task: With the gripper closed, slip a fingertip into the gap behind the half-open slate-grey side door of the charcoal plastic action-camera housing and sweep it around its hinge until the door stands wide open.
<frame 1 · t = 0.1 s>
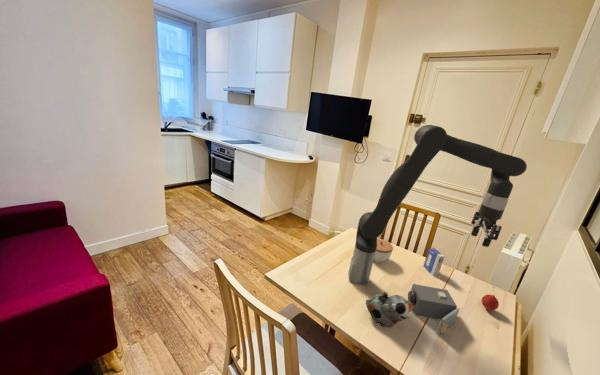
hand: (479, 240, 104), 29 cm above the table, fingers open, 8 cm apart
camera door: (449, 321, 93), point 4 cm above the table, hinge at 40.0°
lidded bowl: (377, 259, 135), on the table
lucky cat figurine: (385, 316, 98), on the table
camera housing: (428, 309, 103), on the table
walkman: (430, 271, 130), on the table
red bumpy ovoid: (486, 309, 107), on the table
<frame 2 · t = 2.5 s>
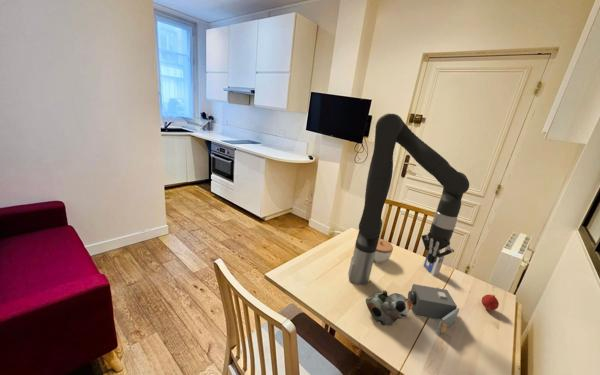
hand: (430, 262, 99), 21 cm above the table, fingers closed
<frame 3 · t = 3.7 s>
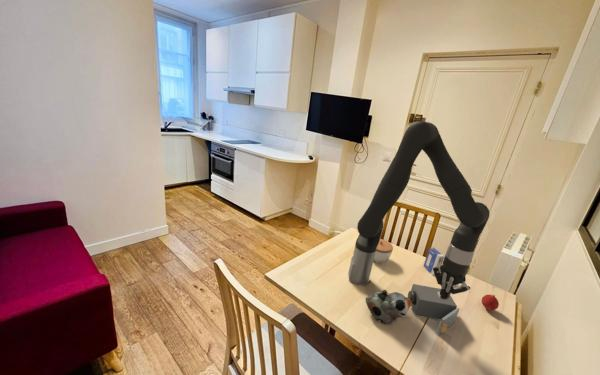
hand: (443, 297, 91), 14 cm above the table, fingers closed
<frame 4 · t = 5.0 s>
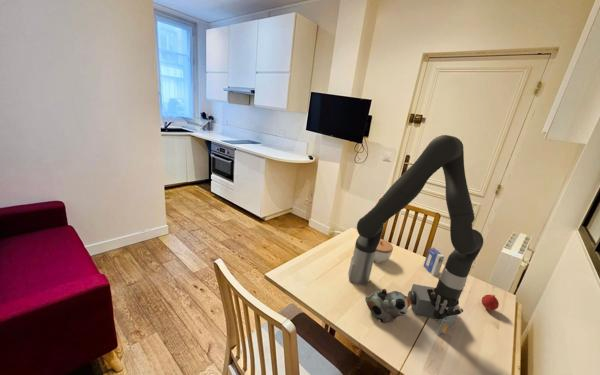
hand: (437, 318, 93), 5 cm above the table, fingers closed
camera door: (449, 321, 93), point 4 cm above the table, hinge at 41.5°, touching gripper
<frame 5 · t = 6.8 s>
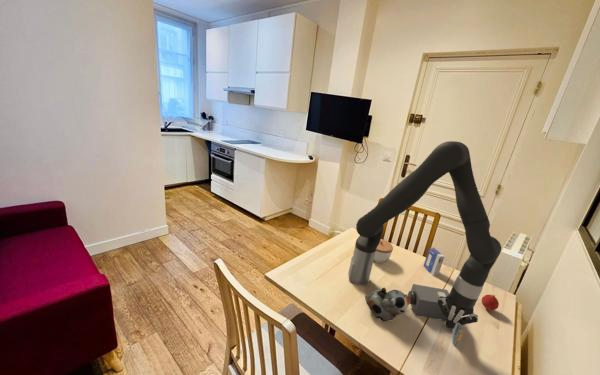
hand: (448, 327, 90), 5 cm above the table, fingers closed
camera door: (457, 325, 92), point 4 cm above the table, hinge at 68.7°, touching gripper
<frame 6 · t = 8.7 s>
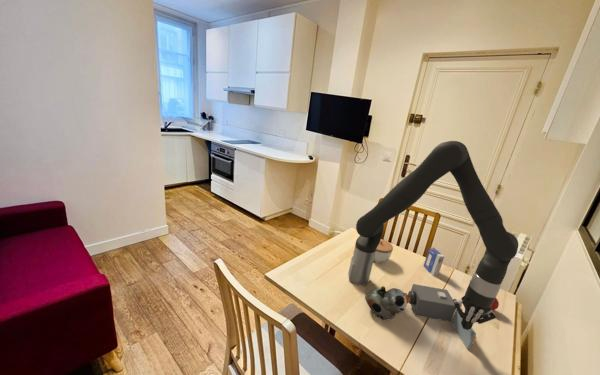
hand: (465, 327, 87), 8 cm above the table, fingers closed
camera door: (463, 327, 91), point 4 cm above the table, hinge at 93.7°
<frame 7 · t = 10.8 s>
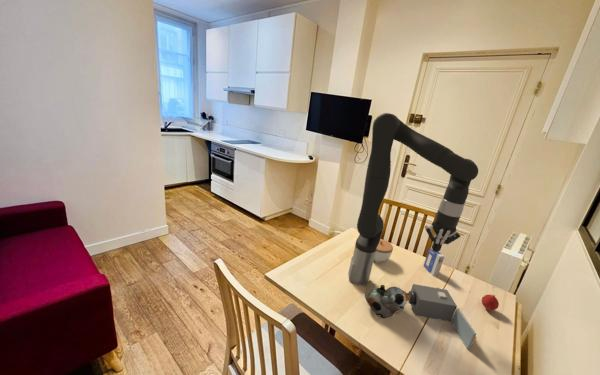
hand: (435, 250, 98), 26 cm above the table, fingers closed
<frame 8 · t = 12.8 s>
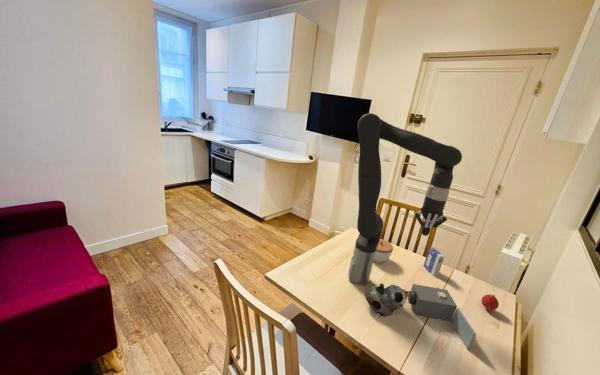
hand: (424, 234, 104), 29 cm above the table, fingers closed
at the end: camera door at +94° (first picture: +40°) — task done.
